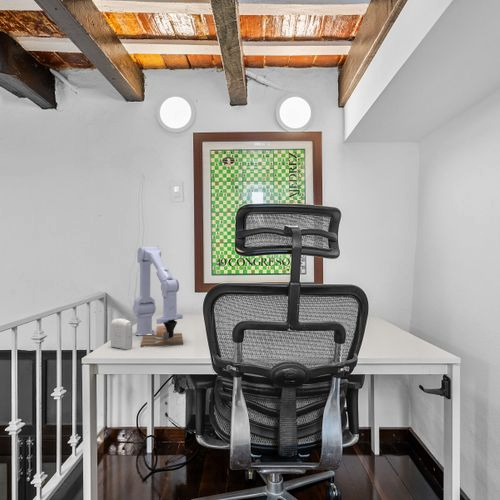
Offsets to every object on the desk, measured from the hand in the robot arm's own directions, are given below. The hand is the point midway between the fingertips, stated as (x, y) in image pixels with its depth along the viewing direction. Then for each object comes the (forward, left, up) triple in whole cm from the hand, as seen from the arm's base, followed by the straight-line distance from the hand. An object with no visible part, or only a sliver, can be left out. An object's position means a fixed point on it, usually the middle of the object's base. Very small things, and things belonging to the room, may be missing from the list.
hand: (170, 337), depth 171 cm
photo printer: (+1, -20, -3) cm, 21 cm away
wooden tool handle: (-2, -3, 0) cm, 4 cm away
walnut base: (-7, -3, -3) cm, 8 cm away
